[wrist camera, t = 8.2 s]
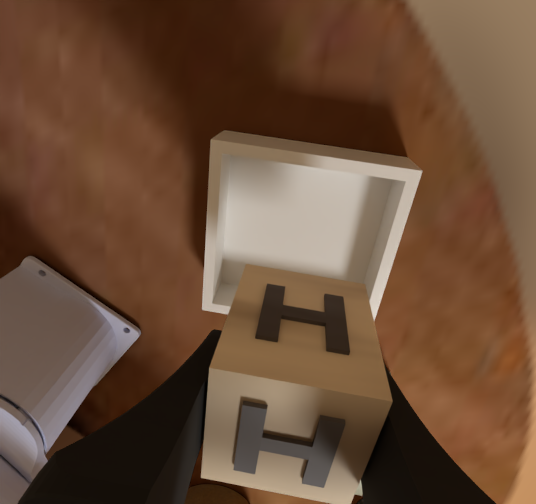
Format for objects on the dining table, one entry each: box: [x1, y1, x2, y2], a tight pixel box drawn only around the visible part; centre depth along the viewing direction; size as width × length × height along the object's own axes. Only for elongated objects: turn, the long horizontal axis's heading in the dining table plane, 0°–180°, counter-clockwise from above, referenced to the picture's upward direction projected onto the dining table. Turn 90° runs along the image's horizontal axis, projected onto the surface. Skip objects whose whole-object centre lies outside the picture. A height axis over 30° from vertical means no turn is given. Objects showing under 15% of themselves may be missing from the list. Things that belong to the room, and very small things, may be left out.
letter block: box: [201, 264, 393, 504], centre depth 14 cm, size 5×5×6 cm
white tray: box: [202, 130, 422, 320], centre depth 21 cm, size 10×10×3 cm
